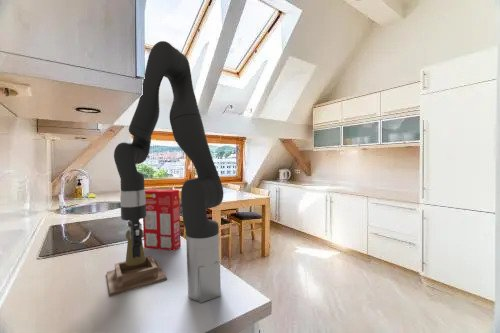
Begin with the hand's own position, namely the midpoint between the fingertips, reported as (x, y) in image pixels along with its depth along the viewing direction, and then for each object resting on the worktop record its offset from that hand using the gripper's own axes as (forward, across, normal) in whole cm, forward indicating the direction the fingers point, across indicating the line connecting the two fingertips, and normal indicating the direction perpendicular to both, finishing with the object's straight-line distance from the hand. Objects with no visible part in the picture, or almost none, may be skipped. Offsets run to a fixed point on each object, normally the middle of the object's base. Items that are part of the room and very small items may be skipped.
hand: (135, 254), depth 81 cm
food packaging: (+8, +23, -14) cm, 28 cm away
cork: (+2, 0, 0) cm, 2 cm away
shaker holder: (+7, 0, 0) cm, 7 cm away
